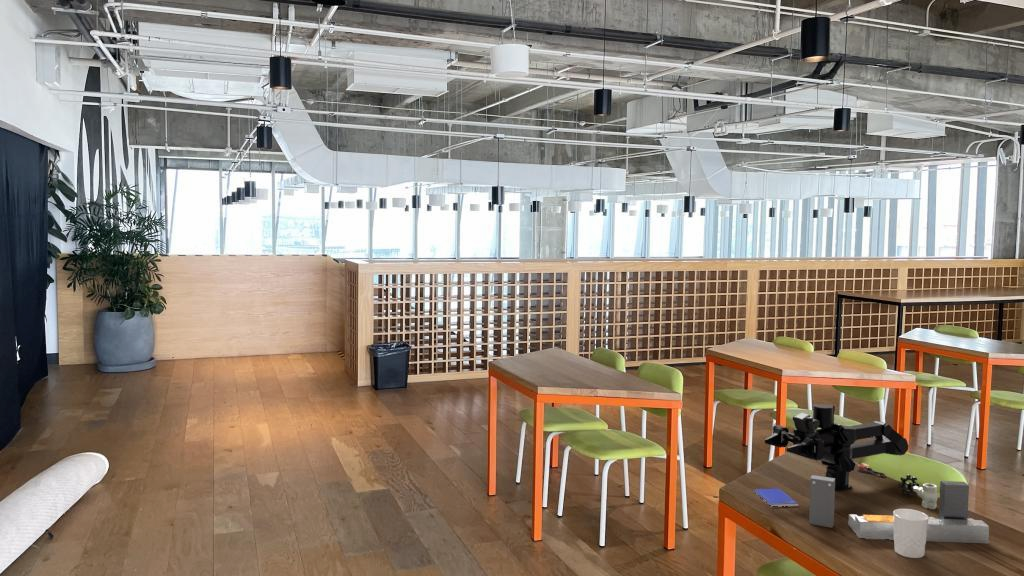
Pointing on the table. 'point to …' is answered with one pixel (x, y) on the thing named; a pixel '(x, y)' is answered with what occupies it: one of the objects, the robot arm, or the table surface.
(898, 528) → the white cup
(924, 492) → the valve
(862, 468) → the composite cable
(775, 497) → the hard drive
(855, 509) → the table surface
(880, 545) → the table surface
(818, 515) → the grey rectangular block
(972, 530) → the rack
